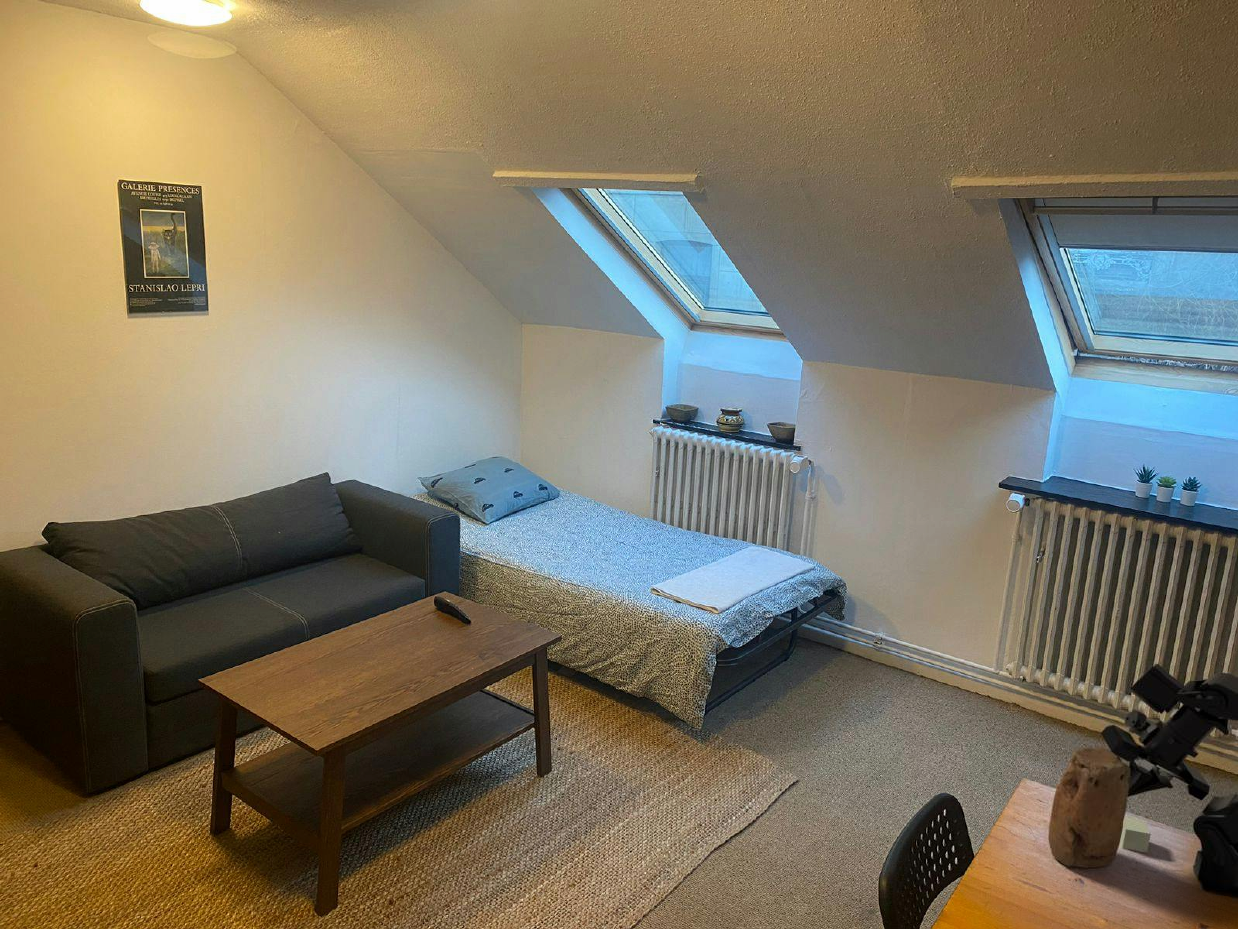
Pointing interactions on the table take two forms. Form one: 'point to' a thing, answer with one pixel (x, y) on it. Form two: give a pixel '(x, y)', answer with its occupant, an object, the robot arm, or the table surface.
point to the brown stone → (1089, 809)
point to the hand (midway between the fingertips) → (1123, 794)
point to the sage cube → (1135, 835)
